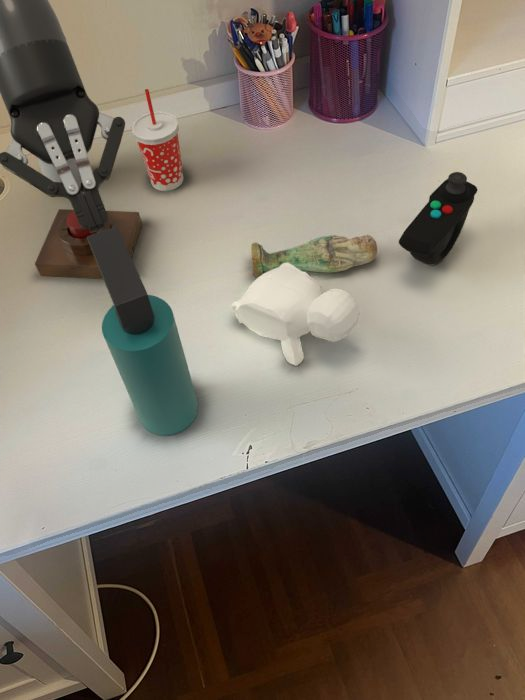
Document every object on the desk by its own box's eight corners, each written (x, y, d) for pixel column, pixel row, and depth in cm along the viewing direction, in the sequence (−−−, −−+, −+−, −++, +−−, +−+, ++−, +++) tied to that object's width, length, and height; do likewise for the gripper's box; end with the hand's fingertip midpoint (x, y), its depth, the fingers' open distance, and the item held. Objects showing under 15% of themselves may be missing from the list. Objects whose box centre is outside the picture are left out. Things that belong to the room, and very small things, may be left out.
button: (67, 238, 82) (62, 228, 80) (75, 218, 84) (71, 208, 82) (94, 239, 81) (90, 229, 80) (102, 219, 83) (98, 209, 82)
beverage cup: (140, 175, 94) (115, 85, 83) (179, 161, 95) (161, 71, 84) (154, 200, 90) (130, 110, 79) (195, 185, 92) (178, 95, 80)
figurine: (254, 247, 84) (252, 225, 81) (375, 247, 82) (377, 224, 79) (251, 279, 80) (248, 257, 77) (377, 279, 79) (379, 257, 76)
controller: (470, 235, 82) (486, 170, 74) (420, 297, 77) (432, 234, 69) (439, 222, 84) (452, 157, 76) (389, 281, 79) (396, 219, 71)
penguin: (242, 350, 78) (341, 381, 68) (213, 295, 73) (317, 320, 63) (285, 304, 82) (386, 328, 71) (261, 249, 77) (366, 266, 66)
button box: (40, 275, 83) (29, 253, 80) (63, 221, 89) (54, 198, 86) (124, 279, 82) (116, 257, 79) (142, 224, 88) (135, 201, 84)
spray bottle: (206, 421, 69) (173, 296, 53) (149, 445, 68) (97, 324, 52) (172, 345, 75) (133, 213, 59) (119, 365, 74) (64, 236, 58)
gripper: (-51, 60, 57) (28, 251, 60) (95, 19, 59) (164, 204, 62) (-34, 86, 64) (35, 255, 67) (96, 48, 67) (157, 212, 70)
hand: (98, 230), depth 65 cm, fingers closed
